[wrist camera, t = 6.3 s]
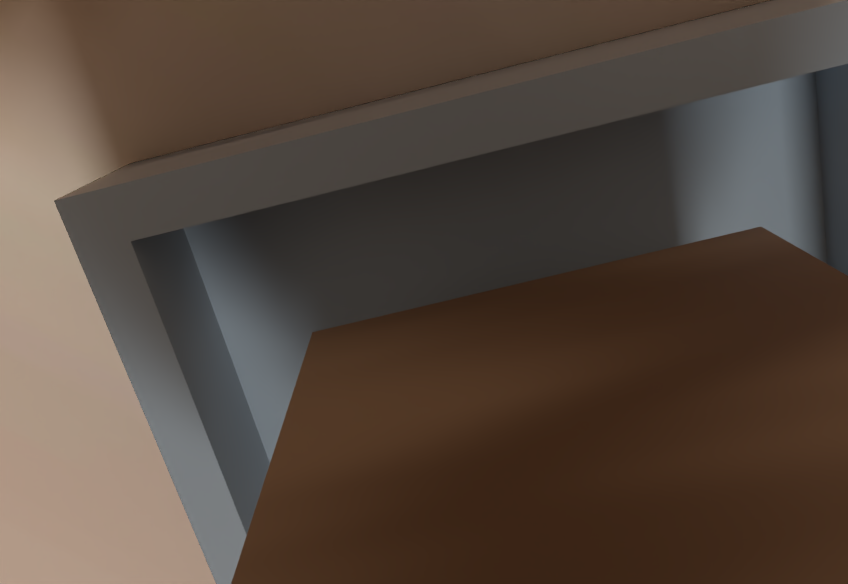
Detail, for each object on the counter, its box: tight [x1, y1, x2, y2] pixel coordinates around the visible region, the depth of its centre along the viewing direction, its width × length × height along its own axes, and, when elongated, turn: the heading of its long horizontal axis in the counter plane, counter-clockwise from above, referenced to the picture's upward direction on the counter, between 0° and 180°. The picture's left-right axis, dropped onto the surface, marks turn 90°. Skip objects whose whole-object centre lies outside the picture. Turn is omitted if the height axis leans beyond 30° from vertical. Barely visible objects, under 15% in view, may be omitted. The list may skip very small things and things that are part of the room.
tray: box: [54, 0, 848, 584], centre depth 10 cm, size 9×9×2 cm
